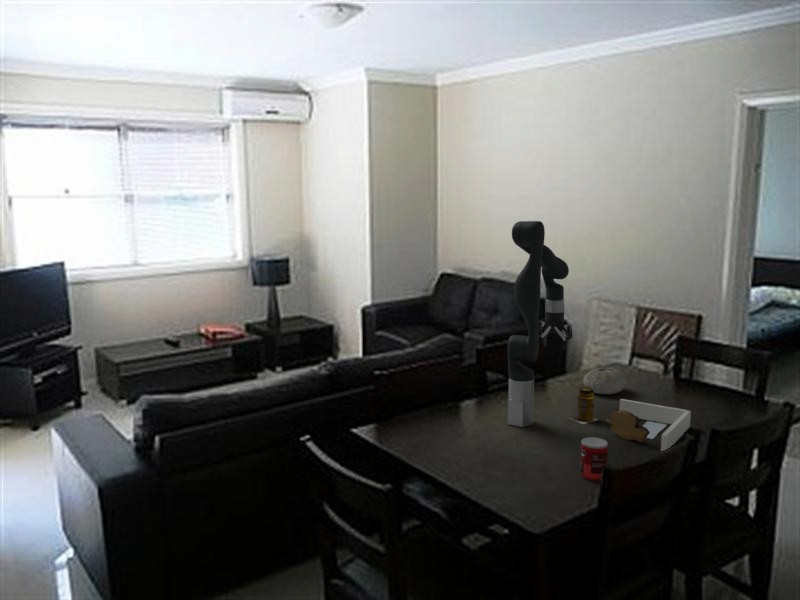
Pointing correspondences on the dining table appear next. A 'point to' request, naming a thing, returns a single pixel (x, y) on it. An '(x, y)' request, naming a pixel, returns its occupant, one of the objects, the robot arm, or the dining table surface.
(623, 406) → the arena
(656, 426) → the pad
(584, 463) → the canned food
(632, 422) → the wooden carving
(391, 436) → the dining table surface
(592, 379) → the decorative shell
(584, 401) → the condiment
